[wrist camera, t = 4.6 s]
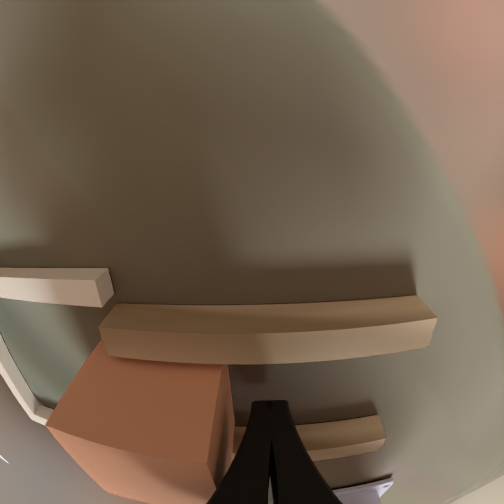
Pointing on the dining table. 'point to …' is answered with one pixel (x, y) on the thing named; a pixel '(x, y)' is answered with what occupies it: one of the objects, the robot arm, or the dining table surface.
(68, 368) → the dining table surface
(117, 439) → the terracotta block
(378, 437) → the parallel wooden rails
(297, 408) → the dining table surface
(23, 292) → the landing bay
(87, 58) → the dining table surface
